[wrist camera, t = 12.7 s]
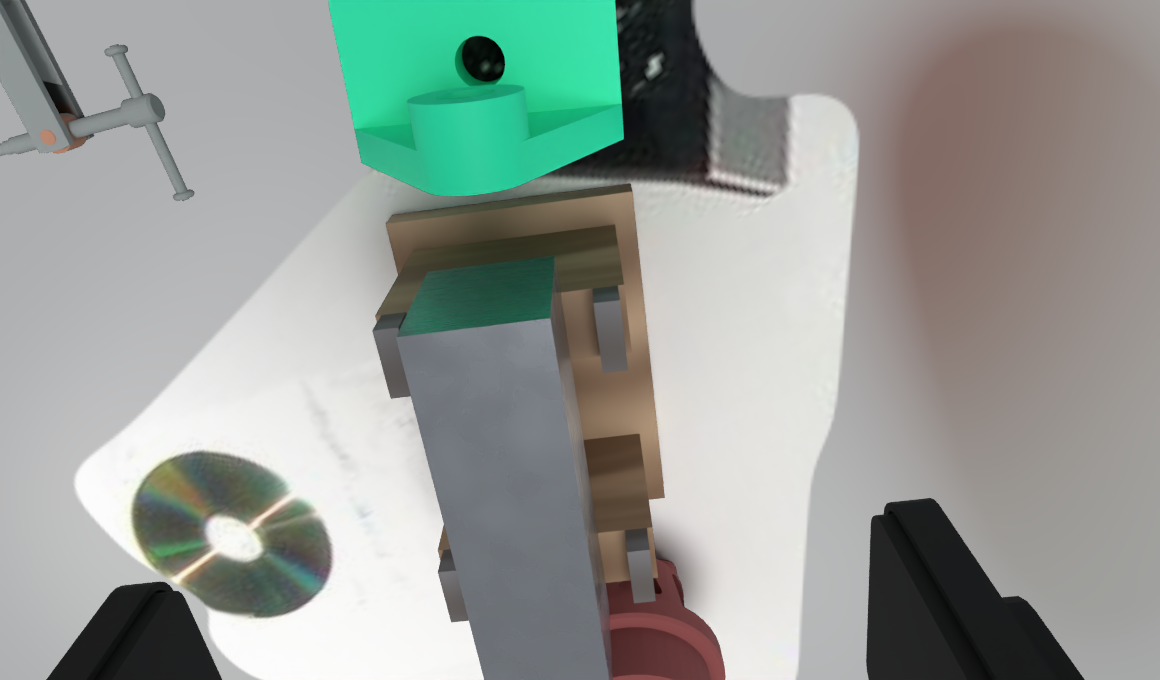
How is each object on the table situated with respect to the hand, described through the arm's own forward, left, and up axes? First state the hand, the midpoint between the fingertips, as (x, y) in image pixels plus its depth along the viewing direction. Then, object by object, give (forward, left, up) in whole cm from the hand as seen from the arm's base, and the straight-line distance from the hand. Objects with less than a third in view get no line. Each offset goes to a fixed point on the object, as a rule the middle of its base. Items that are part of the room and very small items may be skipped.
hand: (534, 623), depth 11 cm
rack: (+11, -3, -30) cm, 32 cm away
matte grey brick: (+11, -3, -21) cm, 24 cm away
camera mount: (-5, -3, -31) cm, 31 cm away
